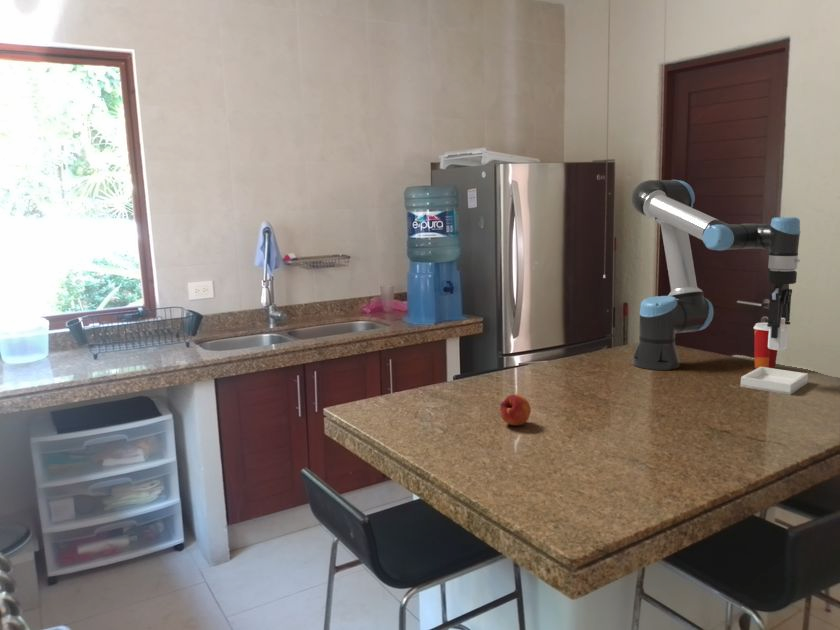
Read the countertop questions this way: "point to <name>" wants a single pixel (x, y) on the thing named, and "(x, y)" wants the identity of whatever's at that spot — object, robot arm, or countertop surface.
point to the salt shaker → (783, 336)
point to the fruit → (515, 410)
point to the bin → (774, 380)
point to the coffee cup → (763, 347)
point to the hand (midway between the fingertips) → (777, 346)
